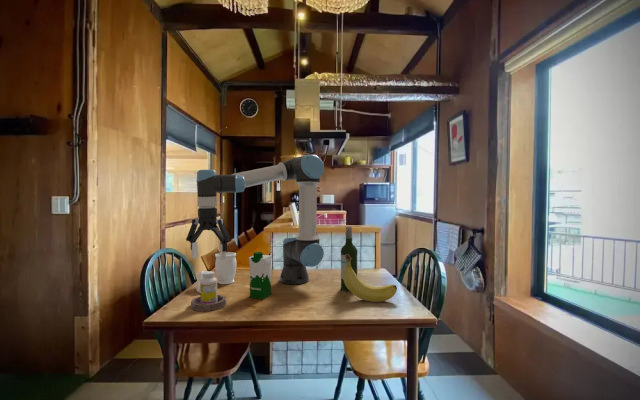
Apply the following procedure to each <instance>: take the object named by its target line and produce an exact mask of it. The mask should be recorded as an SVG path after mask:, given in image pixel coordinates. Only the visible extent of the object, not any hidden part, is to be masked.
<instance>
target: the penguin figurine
mask: <svg viewBox="0 0 640 400" xmlns="http://www.w3.org/2000/svg"><path fill="white" fill-rule="evenodd" d="M208 271H209V270H202V271H200V272H199V273H198V274H197V276H196V277H197V280H196V284H195V285H196V292H197V293H199V294H200V281H201V279H203V276H202V273H203V272H208Z"/></svg>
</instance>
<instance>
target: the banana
mask: <svg viewBox="0 0 640 400" xmlns="http://www.w3.org/2000/svg"><path fill="white" fill-rule="evenodd" d="M345 257H346V260H347V267H346V269H345V270H344V274H343V280H344V283H345V285H346V287H347V288H348V289H349V290H350V291H351V292H350V293H352V295H354V296H355V297H357V298H359V299H360V300H363V301H365V302H371V303H380V302H386V301H389V300H390V299H392V298H393V297H394V296H395V294H396V293H397V289H398V287H397V285H396V284H389V285H383V286H371V285H368V284H366V283H364V282H363V281H362V279H360V278H359V277H358V274H357V275H356V274H355V272H354V271H353V269H352V267H351V264H350V261H351V259H352V258H351V257H350V256H349V254H345Z"/></svg>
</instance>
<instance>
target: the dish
mask: <svg viewBox="0 0 640 400" xmlns="http://www.w3.org/2000/svg"><path fill="white" fill-rule="evenodd" d="M226 305H227V297H226V296H225V295H223V294H217V302H216V303H212V304H201V302H200V295H199V296H197V297H195V298H194V297H193V298H192V299H191V301H190V309H191V310H192V311H194V312H212V311H217V310H220V309H222V308H225V307H226Z"/></svg>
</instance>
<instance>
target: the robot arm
mask: <svg viewBox="0 0 640 400" xmlns="http://www.w3.org/2000/svg"><path fill="white" fill-rule="evenodd" d="M324 165H325V164H324V162H323V159H321V158H320V157H319V156H318V155H316V154H305V155H301V156H296V157H293V158H290V159H288V160H286V161H280V162H278V164H275V165H271V166H265V167H262V168H256V169H252V170H247V171H240V172H235V173H231V174H217V171H216V170H215V169H199V170H197V172H196V188H197V189H196V191H197V192H196V194H197V196H196V197H197V198H196V199H197V207H198V208H197V217H198V218H192V219H191V225H190V229H189V231H188V233H187V236H186V238H185V240H186V242H189V243H190V250H191V259H193V260H194V259H196V258H199V244H198V238H199V237H200V236H201V234H203V232H204V231H211V232H213V233H214V234H215V236H216V237H217V239H218V240H219V241H220V242H221V243H219V249H220V250H219V251H220V252H219V253H220V260H224V259H226V252H228V243H230V242H232V237H231V236H230V233H229V231H228V229H227V227H226V224H225V220H224V218H221V219H217V217H218V208H217V206H218V198H217V194H218V193H219V194H222V193H229V194H230V193H237V194H238V193H243V192H244V191H245V189H246V188H249V187H253V186H254V187H255V186H257V185H262V184H267V183H272V182H277V181H280V180H281V181H283V182H286V181H293V180H295V182H296V184H297V186H298V187H299V188H298V195H299V196H298V198H299V199H298V201H299V202H298V208H299V209H298V235H297V236H295V237H293V236H292V237H285V238H284V239H283V240H282V257H283V258H282V259H283V261H282V263H283V265H282V270H281V273H280V277H279V281H280V283H282V284H285V285H301V284H305V283H308V282H309V280H310V279H309V278H310V276H309V273H308V271H307V267H308V268H309V267H310V268H314V267H317V266H318V265H320V263H321V262H322V260H323V259H324V255H325V254H324V252H325V251H324V248H323V247H322V245H321V244H320V237H319V236H318V235H317V220H318V219H317V211H318V210H317V204H318V203H317V200H318V199H317V194H318V193H317V187H318V185H320V182H321V177H322V175H324V172H325V166H324Z"/></svg>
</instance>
